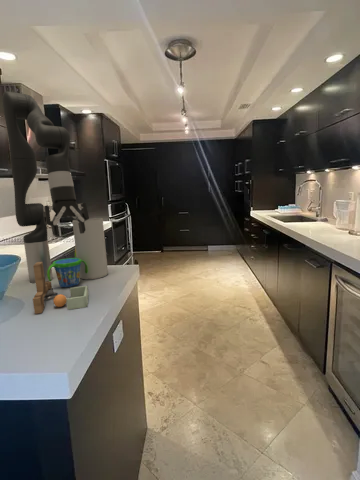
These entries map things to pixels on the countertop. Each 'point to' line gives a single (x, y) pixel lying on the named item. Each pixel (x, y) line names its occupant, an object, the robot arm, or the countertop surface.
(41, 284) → the lever
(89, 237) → the cylinder vase
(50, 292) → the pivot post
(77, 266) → the snack cup
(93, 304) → the countertop surface
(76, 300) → the sage green c-shaped clamp
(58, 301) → the ball
